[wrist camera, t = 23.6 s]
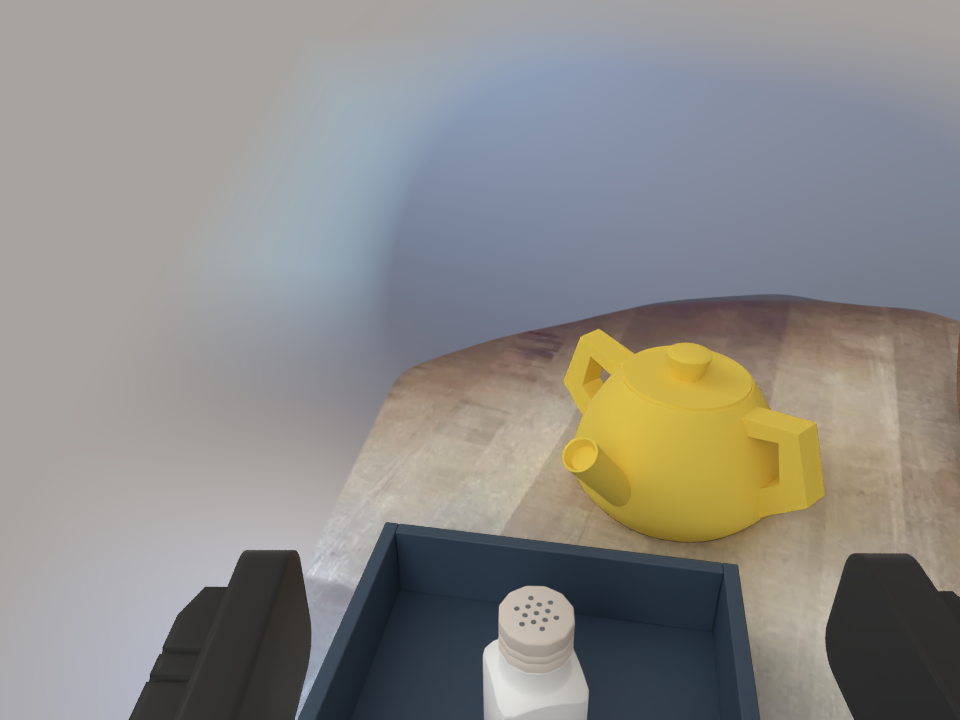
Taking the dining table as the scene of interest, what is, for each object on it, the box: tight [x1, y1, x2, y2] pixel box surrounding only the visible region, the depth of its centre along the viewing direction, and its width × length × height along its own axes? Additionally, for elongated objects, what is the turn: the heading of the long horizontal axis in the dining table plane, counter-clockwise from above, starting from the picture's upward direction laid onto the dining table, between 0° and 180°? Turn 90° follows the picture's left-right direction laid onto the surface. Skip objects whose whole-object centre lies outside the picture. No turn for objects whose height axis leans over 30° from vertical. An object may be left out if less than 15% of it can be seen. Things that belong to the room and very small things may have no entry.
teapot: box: [562, 329, 825, 542], centre depth 51 cm, size 20×18×11 cm
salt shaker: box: [483, 586, 589, 720], centre depth 34 cm, size 4×4×10 cm
